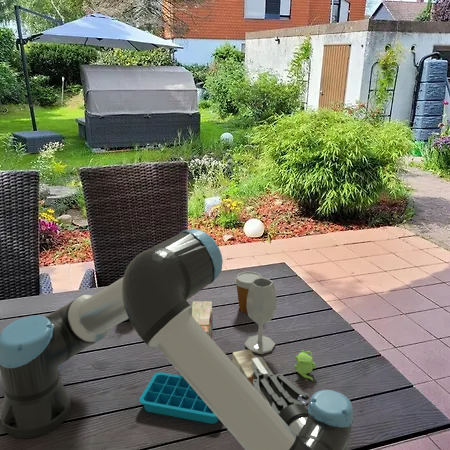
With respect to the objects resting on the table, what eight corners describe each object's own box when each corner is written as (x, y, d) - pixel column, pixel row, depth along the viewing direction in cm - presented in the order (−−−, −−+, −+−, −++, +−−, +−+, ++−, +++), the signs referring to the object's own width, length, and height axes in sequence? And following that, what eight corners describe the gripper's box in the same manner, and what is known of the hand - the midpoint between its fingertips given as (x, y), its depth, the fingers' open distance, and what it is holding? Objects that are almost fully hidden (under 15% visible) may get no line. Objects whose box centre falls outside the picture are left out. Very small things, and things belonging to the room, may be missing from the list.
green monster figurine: (313, 382, 118) (314, 364, 116) (292, 378, 119) (294, 360, 117) (315, 368, 123) (317, 350, 121) (296, 364, 125) (297, 346, 123)
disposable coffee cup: (267, 306, 154) (268, 275, 150) (253, 319, 147) (255, 286, 143) (243, 299, 159) (244, 268, 155) (229, 310, 151) (229, 278, 147)
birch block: (248, 377, 111) (232, 352, 120) (247, 394, 112) (232, 368, 122) (266, 373, 112) (249, 348, 122) (265, 389, 114) (249, 364, 124)
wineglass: (280, 345, 133) (284, 281, 126) (262, 358, 127) (264, 292, 120) (257, 334, 138) (259, 272, 131) (239, 346, 132) (240, 282, 125)
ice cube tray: (156, 380, 118) (155, 371, 117) (231, 394, 113) (231, 384, 112) (138, 412, 107) (137, 402, 106) (219, 428, 102) (219, 417, 101)
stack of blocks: (193, 326, 142) (192, 292, 138) (212, 327, 142) (212, 292, 138) (185, 369, 122) (184, 330, 118) (208, 370, 122) (208, 331, 118)
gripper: (269, 453, 91) (229, 380, 112) (325, 436, 95) (277, 369, 116) (271, 423, 88) (230, 355, 109) (328, 408, 92) (278, 344, 113)
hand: (254, 362), depth 113 cm, fingers closed
